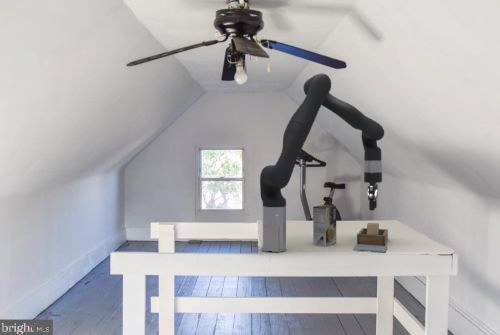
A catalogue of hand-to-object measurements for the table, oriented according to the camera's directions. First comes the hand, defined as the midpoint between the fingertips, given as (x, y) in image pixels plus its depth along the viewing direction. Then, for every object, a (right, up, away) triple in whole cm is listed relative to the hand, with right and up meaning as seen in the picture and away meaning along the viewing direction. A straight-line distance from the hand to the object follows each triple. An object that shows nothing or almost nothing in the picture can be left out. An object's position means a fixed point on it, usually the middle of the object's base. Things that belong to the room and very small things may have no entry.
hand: (373, 209), depth 185 cm
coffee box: (-21, -15, -3) cm, 26 cm away
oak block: (0, -14, 0) cm, 14 cm away
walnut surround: (0, -14, 0) cm, 14 cm away
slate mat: (-5, -15, -14) cm, 21 cm away
